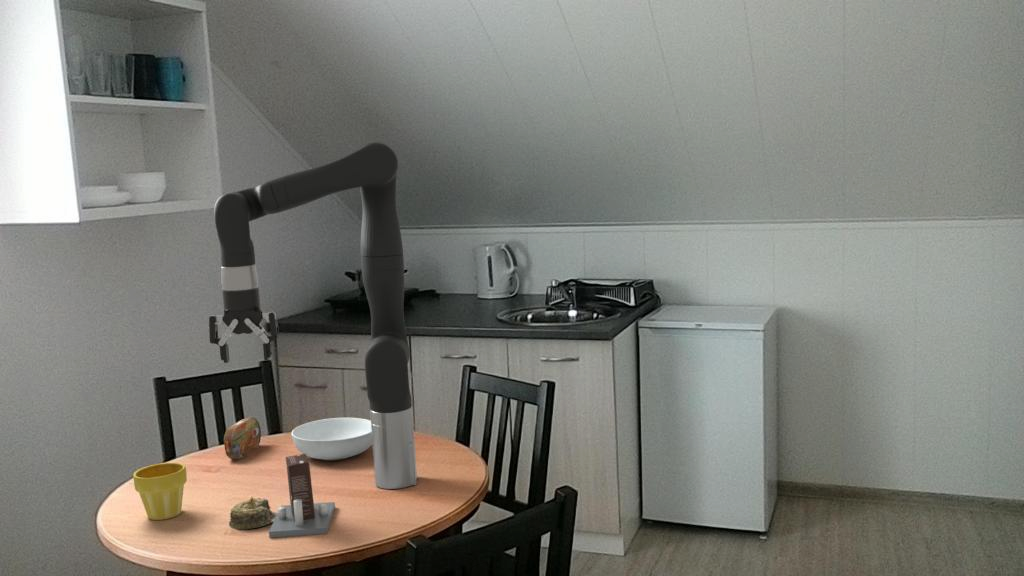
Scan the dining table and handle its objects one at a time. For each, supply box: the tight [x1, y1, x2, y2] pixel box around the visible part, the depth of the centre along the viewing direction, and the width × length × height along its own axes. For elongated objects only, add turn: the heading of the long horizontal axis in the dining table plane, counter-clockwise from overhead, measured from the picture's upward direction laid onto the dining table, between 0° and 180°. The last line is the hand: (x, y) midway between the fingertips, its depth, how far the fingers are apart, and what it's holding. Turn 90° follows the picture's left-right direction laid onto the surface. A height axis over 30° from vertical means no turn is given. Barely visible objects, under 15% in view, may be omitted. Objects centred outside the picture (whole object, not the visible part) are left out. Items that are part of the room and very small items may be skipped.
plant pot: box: [132, 462, 188, 521], centre depth 195 cm, size 10×10×10 cm
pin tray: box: [268, 499, 336, 538], centre depth 187 cm, size 11×14×6 cm
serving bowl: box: [291, 417, 373, 461], centre depth 231 cm, size 21×21×7 cm
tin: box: [223, 417, 262, 460], centre depth 235 cm, size 15×3×8 cm, turn 168°
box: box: [285, 453, 315, 522], centre depth 187 cm, size 6×4×12 cm
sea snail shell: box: [228, 496, 278, 531], centre depth 189 cm, size 10×10×5 cm
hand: (246, 361), depth 201 cm, fingers open, 8 cm apart
